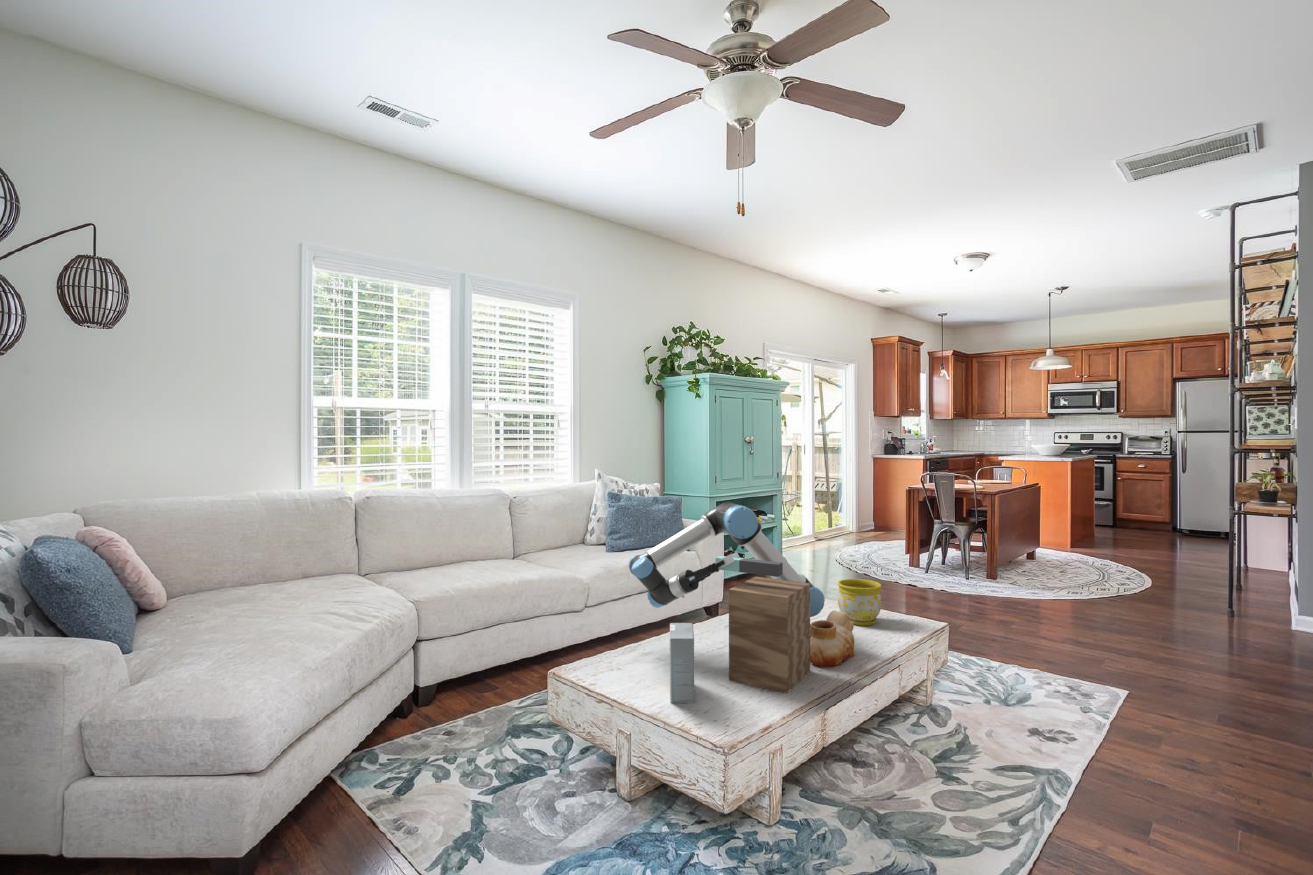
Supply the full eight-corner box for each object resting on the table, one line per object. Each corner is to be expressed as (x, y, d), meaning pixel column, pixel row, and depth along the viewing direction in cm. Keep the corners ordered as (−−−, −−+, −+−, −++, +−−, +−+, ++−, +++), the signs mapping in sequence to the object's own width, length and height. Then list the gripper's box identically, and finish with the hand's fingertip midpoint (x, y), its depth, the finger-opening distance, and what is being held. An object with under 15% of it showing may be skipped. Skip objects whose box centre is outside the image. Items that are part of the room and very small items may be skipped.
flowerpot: (831, 616, 287) (831, 579, 287) (870, 614, 289) (870, 578, 289) (847, 628, 269) (847, 589, 269) (889, 626, 271) (889, 587, 271)
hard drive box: (670, 683, 212) (670, 622, 212) (693, 683, 212) (693, 622, 211) (669, 703, 196) (669, 637, 196) (695, 703, 196) (694, 637, 196)
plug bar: (715, 569, 226) (715, 557, 226) (720, 567, 230) (720, 555, 230) (778, 576, 214) (778, 564, 214) (782, 574, 217) (782, 562, 217)
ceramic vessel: (863, 651, 242) (863, 611, 241) (834, 672, 221) (834, 628, 221) (828, 644, 250) (828, 605, 250) (797, 663, 230) (797, 620, 230)
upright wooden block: (755, 660, 233) (755, 576, 232) (810, 670, 222) (810, 583, 222) (728, 680, 214) (728, 589, 214) (787, 693, 203) (786, 597, 203)
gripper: (700, 587, 241) (750, 562, 231) (677, 598, 227) (729, 571, 216) (691, 569, 243) (740, 543, 233) (667, 578, 229) (719, 550, 218)
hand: (735, 556), depth 224 cm, fingers closed on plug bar, 4 cm apart
